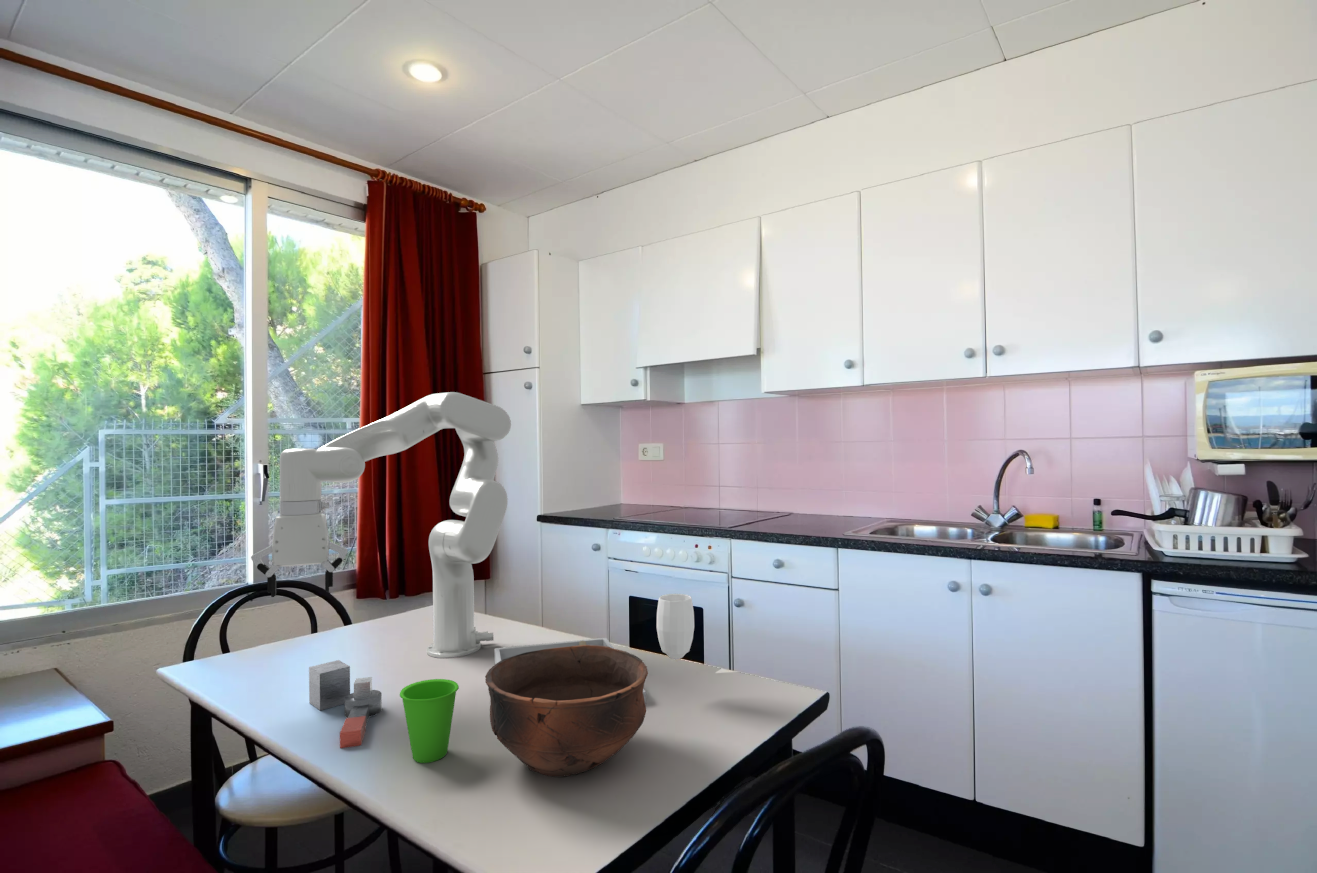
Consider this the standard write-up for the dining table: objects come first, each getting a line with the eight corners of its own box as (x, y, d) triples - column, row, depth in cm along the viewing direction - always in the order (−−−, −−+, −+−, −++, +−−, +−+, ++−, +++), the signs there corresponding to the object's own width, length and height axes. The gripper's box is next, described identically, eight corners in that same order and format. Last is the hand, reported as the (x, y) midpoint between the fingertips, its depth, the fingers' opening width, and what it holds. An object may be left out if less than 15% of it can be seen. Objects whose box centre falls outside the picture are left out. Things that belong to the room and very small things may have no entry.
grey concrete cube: (339, 694, 135) (338, 660, 135) (350, 702, 131) (349, 666, 131) (309, 702, 131) (309, 667, 131) (320, 710, 127) (319, 673, 127)
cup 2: (697, 713, 123) (696, 601, 123) (658, 715, 123) (657, 602, 123) (693, 698, 131) (692, 592, 131) (656, 699, 130) (655, 593, 130)
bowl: (503, 824, 89) (501, 710, 89) (475, 746, 111) (474, 655, 111) (673, 783, 99) (672, 681, 99) (616, 719, 121) (615, 636, 121)
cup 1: (425, 776, 101) (425, 704, 101) (388, 761, 106) (387, 692, 106) (471, 752, 109) (470, 685, 109) (434, 739, 114) (433, 675, 114)
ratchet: (347, 707, 128) (347, 676, 128) (383, 703, 130) (383, 672, 130) (329, 749, 111) (329, 713, 111) (371, 744, 113) (370, 708, 113)
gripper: (347, 505, 143) (347, 585, 143) (253, 509, 136) (253, 594, 135) (348, 508, 137) (348, 592, 136) (249, 513, 129) (249, 601, 129)
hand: (300, 593), depth 136 cm, fingers open, 9 cm apart
